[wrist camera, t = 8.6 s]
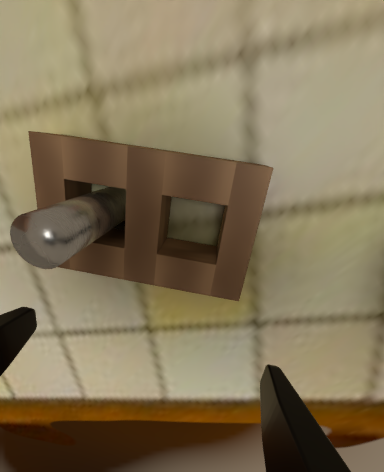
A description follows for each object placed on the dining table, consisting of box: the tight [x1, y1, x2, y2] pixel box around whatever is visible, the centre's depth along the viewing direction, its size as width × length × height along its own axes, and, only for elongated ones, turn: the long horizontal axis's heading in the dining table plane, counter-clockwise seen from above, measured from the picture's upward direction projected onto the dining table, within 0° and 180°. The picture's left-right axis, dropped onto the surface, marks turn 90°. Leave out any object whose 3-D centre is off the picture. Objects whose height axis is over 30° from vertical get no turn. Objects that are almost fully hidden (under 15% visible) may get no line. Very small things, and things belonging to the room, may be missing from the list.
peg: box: [10, 187, 126, 269], centre depth 15 cm, size 3×3×9 cm
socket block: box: [29, 131, 273, 301], centre depth 18 cm, size 16×10×4 cm, turn 82°
